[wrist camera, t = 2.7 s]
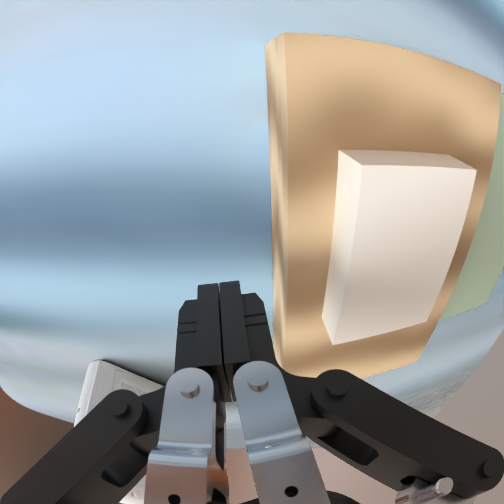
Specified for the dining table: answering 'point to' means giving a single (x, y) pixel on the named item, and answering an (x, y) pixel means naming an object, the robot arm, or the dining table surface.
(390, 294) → the cream tile
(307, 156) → the board
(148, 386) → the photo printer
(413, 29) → the dining table surface
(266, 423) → the robot arm
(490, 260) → the sage mat
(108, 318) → the dining table surface
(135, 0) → the dining table surface
